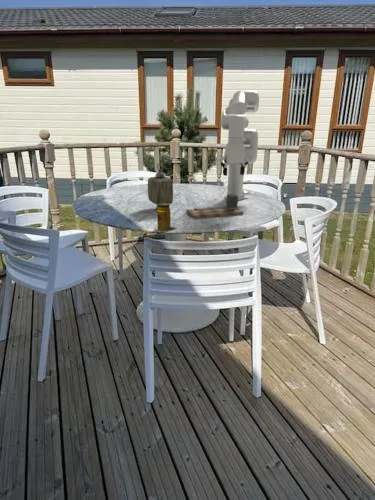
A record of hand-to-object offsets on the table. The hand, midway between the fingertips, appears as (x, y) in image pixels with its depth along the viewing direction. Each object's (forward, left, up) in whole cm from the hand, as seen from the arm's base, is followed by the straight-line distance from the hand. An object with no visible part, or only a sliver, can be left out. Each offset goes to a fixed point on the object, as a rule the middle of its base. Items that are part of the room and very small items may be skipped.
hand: (233, 175), depth 187 cm
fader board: (+10, 0, -20) cm, 22 cm away
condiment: (+42, +18, -21) cm, 50 cm away
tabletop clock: (+36, -16, -20) cm, 44 cm away
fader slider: (0, 0, -18) cm, 18 cm away
